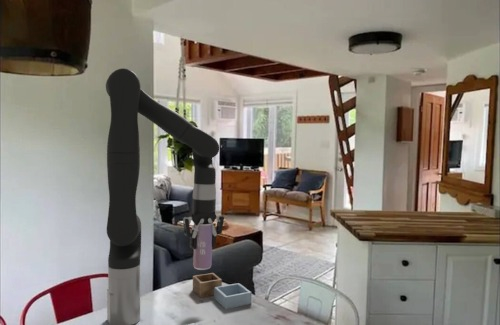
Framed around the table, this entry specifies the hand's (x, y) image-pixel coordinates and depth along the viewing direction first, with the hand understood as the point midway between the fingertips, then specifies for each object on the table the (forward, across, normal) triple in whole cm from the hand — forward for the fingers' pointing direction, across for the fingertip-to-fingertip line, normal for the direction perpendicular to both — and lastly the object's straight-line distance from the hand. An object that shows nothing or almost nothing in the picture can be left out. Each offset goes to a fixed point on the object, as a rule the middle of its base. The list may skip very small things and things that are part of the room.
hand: (203, 247), depth 125 cm
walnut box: (+20, +6, +9) cm, 22 cm away
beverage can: (+7, 0, 0) cm, 7 cm away
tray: (+20, +10, -2) cm, 22 cm away
